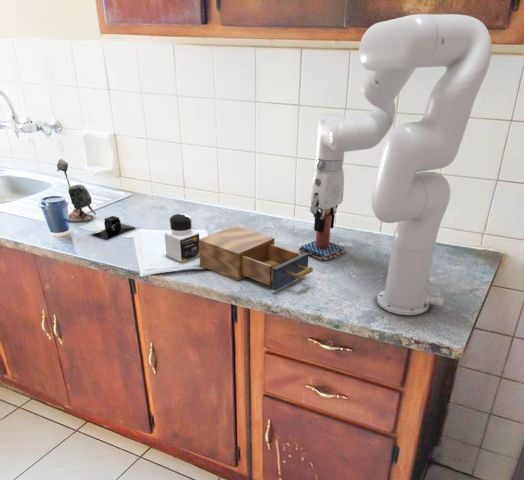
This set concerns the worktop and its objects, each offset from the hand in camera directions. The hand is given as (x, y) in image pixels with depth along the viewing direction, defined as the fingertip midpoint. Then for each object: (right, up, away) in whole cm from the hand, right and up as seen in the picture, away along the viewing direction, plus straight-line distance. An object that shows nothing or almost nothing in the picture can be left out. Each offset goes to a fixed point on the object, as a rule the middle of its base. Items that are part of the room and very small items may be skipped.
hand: (323, 228), depth 150 cm
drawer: (-14, -16, -13) cm, 25 cm away
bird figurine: (-80, +9, +26) cm, 84 cm away
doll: (0, -4, +3) cm, 5 cm away
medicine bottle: (-41, -8, +1) cm, 42 cm away
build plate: (-66, +3, +16) cm, 68 cm away
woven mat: (0, -6, +4) cm, 8 cm away
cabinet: (-25, -11, -4) cm, 28 cm away
